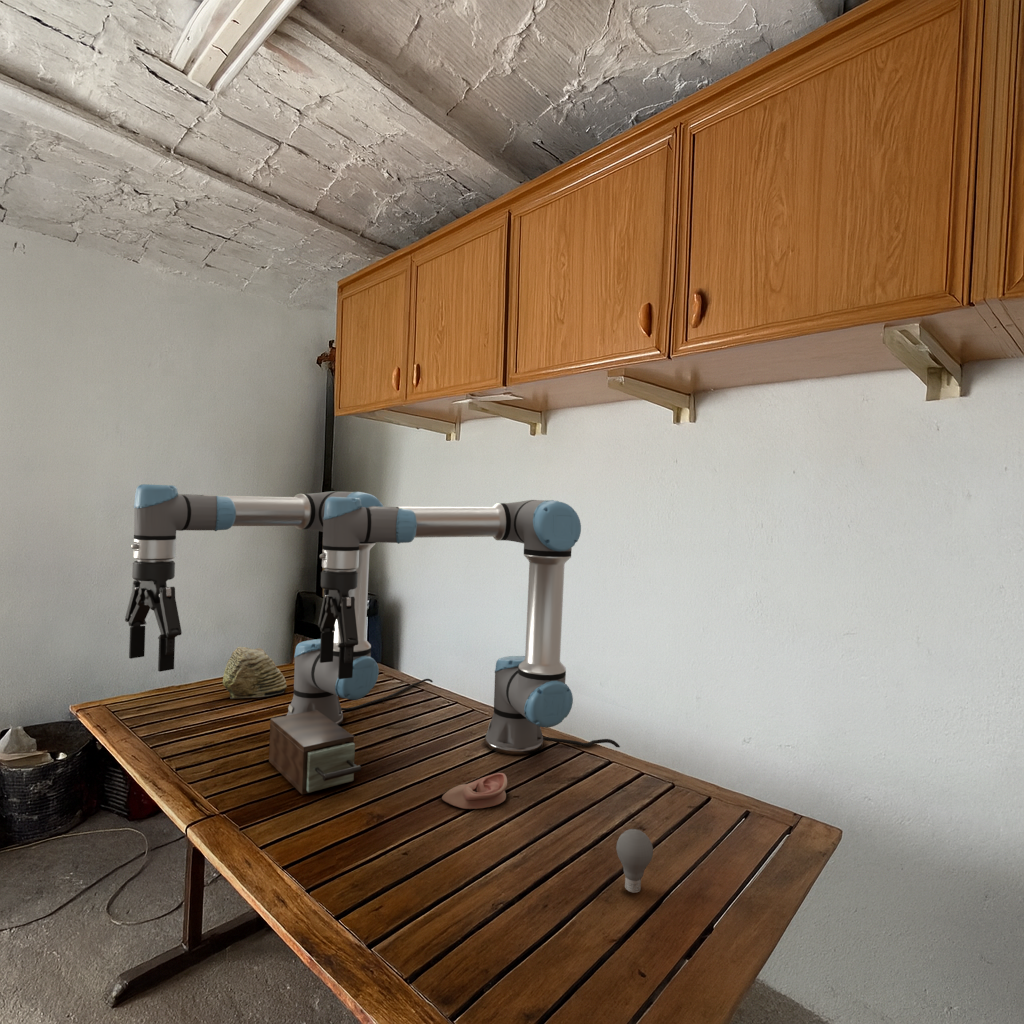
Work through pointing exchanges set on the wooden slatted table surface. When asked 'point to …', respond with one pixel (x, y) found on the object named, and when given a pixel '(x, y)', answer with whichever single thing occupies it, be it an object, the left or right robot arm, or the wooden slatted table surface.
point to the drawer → (331, 766)
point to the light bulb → (634, 857)
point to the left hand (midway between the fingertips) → (150, 663)
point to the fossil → (252, 674)
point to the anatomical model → (478, 792)
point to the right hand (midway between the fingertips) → (335, 669)
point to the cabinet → (301, 743)
